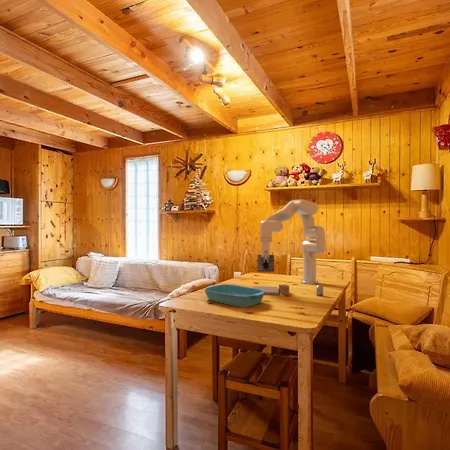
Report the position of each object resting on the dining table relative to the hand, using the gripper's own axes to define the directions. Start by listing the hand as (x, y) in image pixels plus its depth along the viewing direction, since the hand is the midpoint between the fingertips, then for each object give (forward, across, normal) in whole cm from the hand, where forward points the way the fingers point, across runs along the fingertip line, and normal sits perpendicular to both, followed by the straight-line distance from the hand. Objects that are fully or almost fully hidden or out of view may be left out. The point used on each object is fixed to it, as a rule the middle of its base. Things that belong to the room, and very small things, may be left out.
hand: (265, 267), depth 202 cm
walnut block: (+16, +2, +12) cm, 20 cm away
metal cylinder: (+16, +6, +33) cm, 37 cm away
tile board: (+16, 0, 0) cm, 16 cm away
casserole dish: (+16, +27, -18) cm, 36 cm away
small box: (+2, 0, 0) cm, 2 cm away
